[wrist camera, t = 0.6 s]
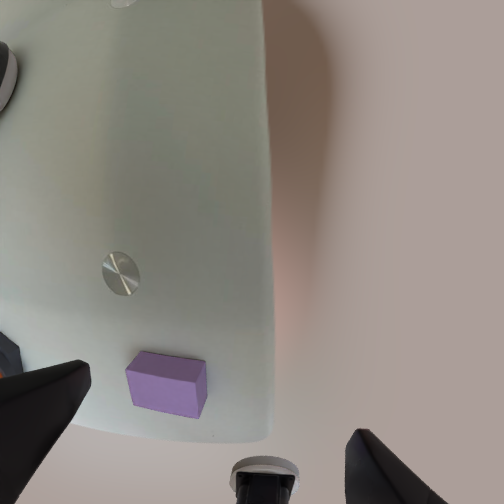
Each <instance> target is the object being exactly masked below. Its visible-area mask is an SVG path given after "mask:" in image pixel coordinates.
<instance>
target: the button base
mask: <svg viewBox="0 0 504 504" xmlns="http://www.w3.org/2000/svg"><path fill="white" fill-rule="evenodd" d="M0 373H1V375H2V376H3V377H7V376H12V375H17V374H21V373H23V369H22V363H21V357H20V351H19V347H18V346H17V345H16V344H14V343H13V342H12V341H11V340H9V339H8V338H7V337H6V336H4V335H3V334H2V333H1V332H0Z"/></svg>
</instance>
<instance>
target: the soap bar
mask: <svg viewBox="0 0 504 504" xmlns="http://www.w3.org/2000/svg"><path fill="white" fill-rule="evenodd" d="M125 371H126V376H127V380H128V385H129V389H130V393H131V397H132V402H133V405H135V406H139V407H143V408H147V409H151V410H155V411H160V412H164V413H169V414H174V415H179V416H184V417H190V418H196V419H199V417H200V415H201V412H202V409H203V406H204V404H205V401H206V398H207V384H206V364H205V361H199V360H191V359H185V358H178V357H172V356H165V355H160V354H154V353H148V352H143V351H140V353H139V354H138V355H137V356H136V357H135V358H134V360H133V361H132V362H131V363H130V364H129V366H128V367H127V368H126V369H125Z"/></svg>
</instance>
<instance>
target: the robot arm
mask: <svg viewBox="0 0 504 504" xmlns="http://www.w3.org/2000/svg"><path fill="white" fill-rule="evenodd" d="M90 387H91V374H90V367H89V364H88V363H86V362H84V361H82V360H74V361H70V362H66V363H62V364H58V365H54V366H50V367H46V368H42V369H38V370H34V371H30V372H25V373H21V374H17V375H12V376H7V377H3V378H0V504H15V502H16V501H17V499H18V498H19V495H20V494H21V493H22V491H23V489H24V488H25V486H26V485H27V483H28V482H29V480H30V479H31V477H32V476H33V474H34V473H35V471H36V470H37V469H38V467H39V465H40V464H41V463H42V461H43V460H44V458H45V457H46V455H47V454H48V452H49V451H50V450H51V448H52V447H53V445H54V444H55V443H56V441H57V440H58V438H59V437H60V435H61V434H62V433H63V431H64V430H65V429H66V427H67V426H68V424H69V423H70V422H71V420H72V419H73V417H74V415H75V414H76V412H77V410H78V408H79V406H80V405H81V403H82V401H83V399H84V398H85V396H86V394H87V392H88V390H89V389H90ZM345 454H346V455H345V496H346V504H448V503H447V502H446V501H444V500H443V499H442V498H441V497H440V496H438V495H437V494H436V493H435V492H434V491H433V490H432V489H430V487H429V486H427V485H426V484H425V483H424V482H423V481H422V480H421V479H420V478H419V477H418V476H417V475H416V474H414V473H413V472H412V471H411V470H410V469H409V468H408V467H407V466H406V465H405V464H404V463H403V462H402V461H401V460H400V459H399V458H398V457H397V456H396V455H395V454H394V453H393V452H392V451H391V450H390V449H389V448H387V447H386V446H385V445H384V444H383V443H382V442H381V441H380V440H379V439H378V438H377V437H376V436H375V435H374V434H373V433H372V432H371V431H370V430H369V429H361V428H359V429H356V430H355V432H354V433H353V435H352V437H351V438H350V440H349V441H348V443H347V445H346V450H345ZM294 482H295V475H292V474H268V473H254V472H243V471H238V472H236V498H237V503H236V504H288V501H289V499H290V496H291V493H292V489H293V486H294Z"/></svg>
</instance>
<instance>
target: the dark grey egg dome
mask: <svg viewBox="0 0 504 504" xmlns="http://www.w3.org/2000/svg"><path fill="white" fill-rule="evenodd" d="M17 72H18V67H17V61H16V58H15V56H14V54H13V53H12V51H11V50H10V49H9V48H8V46H7V44H6V43H4V42H1V41H0V111H1V110H2V109H3V108H4V106H5V105H6V103H7V102H8V100H9V98H10V96H11V94H12V92H13V89H14V86H15V83H16V79H17Z"/></svg>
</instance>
